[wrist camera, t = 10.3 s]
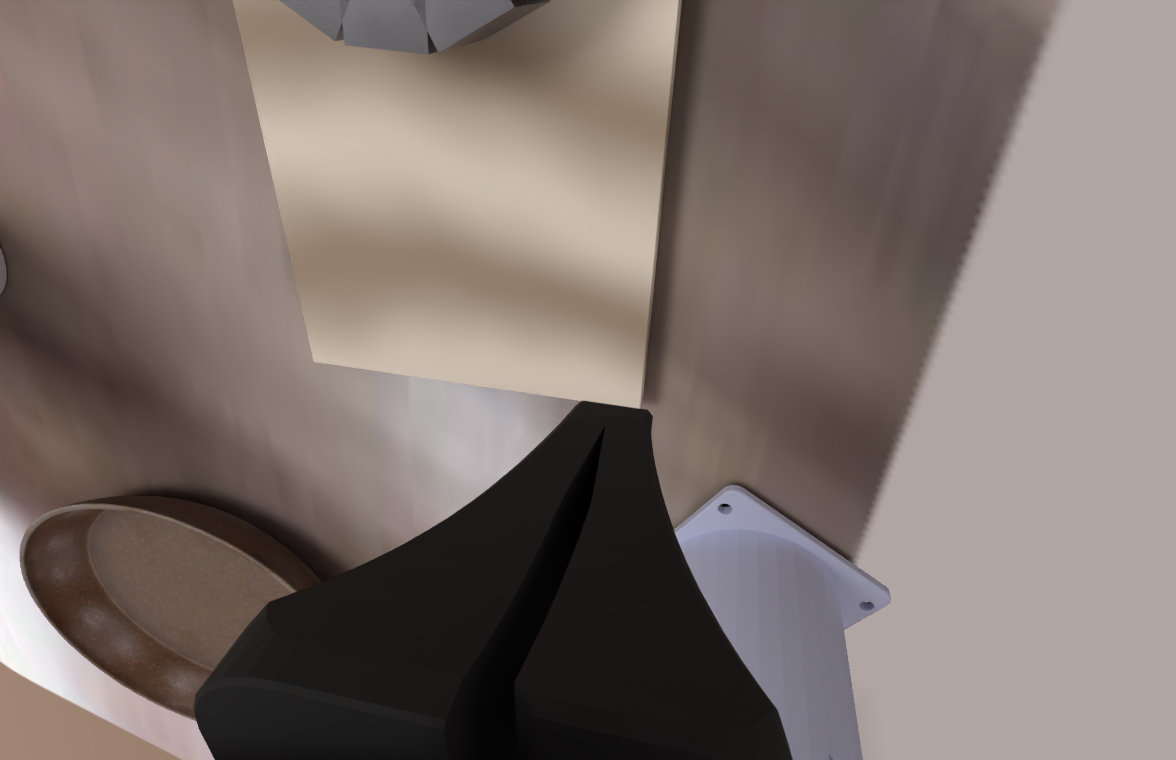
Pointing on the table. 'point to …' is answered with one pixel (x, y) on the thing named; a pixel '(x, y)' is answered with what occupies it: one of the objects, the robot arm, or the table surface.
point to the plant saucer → (154, 587)
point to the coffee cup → (2, 272)
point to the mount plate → (475, 194)
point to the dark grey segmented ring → (412, 21)
